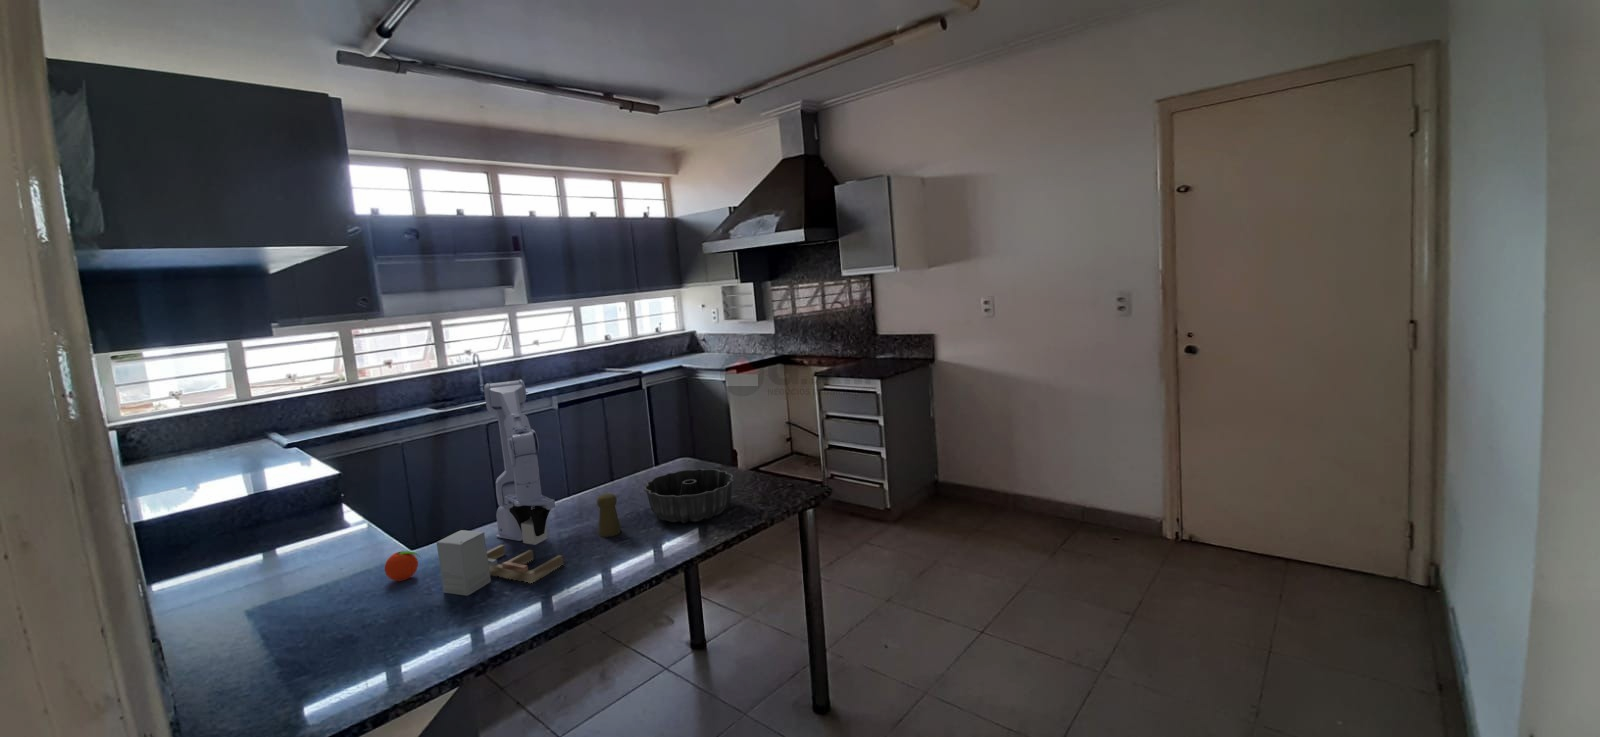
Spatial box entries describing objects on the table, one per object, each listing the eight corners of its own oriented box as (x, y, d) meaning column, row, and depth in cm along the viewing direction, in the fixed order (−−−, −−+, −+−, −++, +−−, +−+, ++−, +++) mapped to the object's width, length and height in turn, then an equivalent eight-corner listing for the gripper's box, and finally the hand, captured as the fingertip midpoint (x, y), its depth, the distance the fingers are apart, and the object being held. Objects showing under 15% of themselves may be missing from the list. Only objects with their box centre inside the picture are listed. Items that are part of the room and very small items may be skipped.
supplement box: (492, 581, 154) (485, 531, 152) (467, 596, 147) (460, 544, 145) (468, 578, 156) (461, 528, 154) (442, 593, 149) (435, 541, 148)
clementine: (427, 570, 162) (423, 543, 161) (420, 582, 155) (416, 554, 154) (391, 576, 160) (387, 548, 159) (382, 588, 153) (378, 560, 152)
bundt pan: (643, 505, 202) (640, 474, 200) (726, 492, 209) (724, 463, 208) (650, 536, 177) (647, 501, 175) (744, 521, 184) (742, 487, 183)
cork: (617, 536, 177) (613, 498, 176) (595, 537, 178) (591, 499, 176) (623, 527, 183) (620, 490, 182) (602, 528, 184) (599, 491, 182)
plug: (523, 542, 160) (520, 521, 159) (535, 536, 163) (533, 515, 162) (535, 544, 158) (532, 523, 157) (547, 538, 162) (545, 517, 161)
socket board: (468, 570, 160) (466, 556, 160) (502, 553, 170) (500, 540, 169) (531, 583, 152) (529, 568, 151) (563, 565, 161) (561, 551, 161)
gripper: (492, 483, 157) (498, 536, 159) (536, 488, 152) (543, 543, 153) (515, 474, 164) (521, 525, 166) (559, 479, 158) (564, 532, 160)
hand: (533, 533), depth 160 cm, fingers closed on plug, 4 cm apart
